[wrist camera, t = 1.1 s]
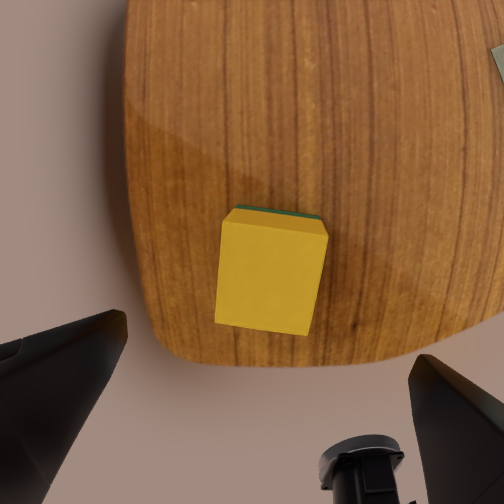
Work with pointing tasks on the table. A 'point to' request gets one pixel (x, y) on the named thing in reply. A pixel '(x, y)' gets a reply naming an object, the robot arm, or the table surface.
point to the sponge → (269, 269)
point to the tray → (499, 59)
